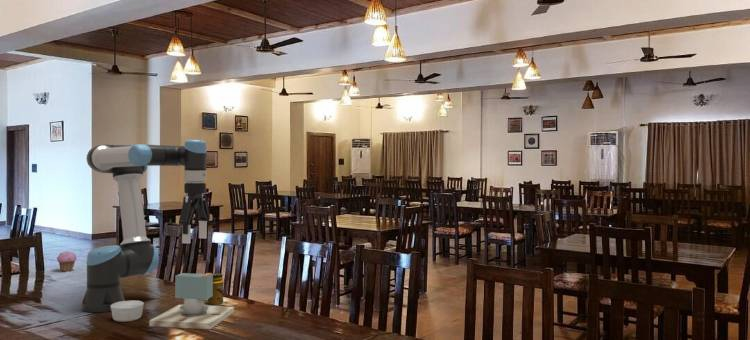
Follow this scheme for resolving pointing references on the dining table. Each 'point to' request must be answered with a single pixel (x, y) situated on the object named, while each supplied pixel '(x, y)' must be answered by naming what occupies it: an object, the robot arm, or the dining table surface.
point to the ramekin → (127, 310)
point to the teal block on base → (194, 291)
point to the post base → (192, 318)
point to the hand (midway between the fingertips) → (194, 240)
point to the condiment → (216, 291)
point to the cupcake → (66, 261)
